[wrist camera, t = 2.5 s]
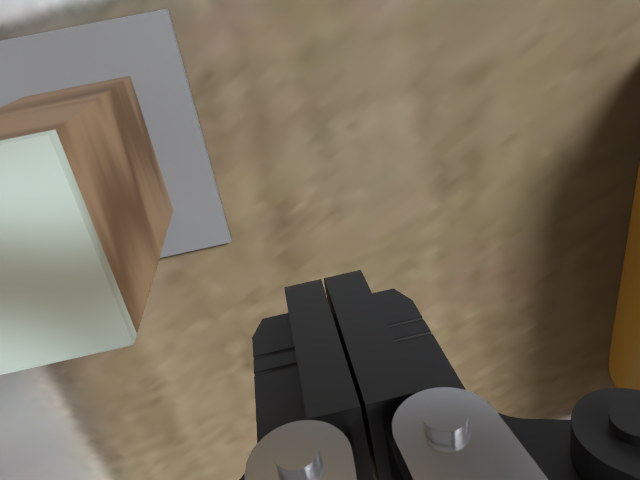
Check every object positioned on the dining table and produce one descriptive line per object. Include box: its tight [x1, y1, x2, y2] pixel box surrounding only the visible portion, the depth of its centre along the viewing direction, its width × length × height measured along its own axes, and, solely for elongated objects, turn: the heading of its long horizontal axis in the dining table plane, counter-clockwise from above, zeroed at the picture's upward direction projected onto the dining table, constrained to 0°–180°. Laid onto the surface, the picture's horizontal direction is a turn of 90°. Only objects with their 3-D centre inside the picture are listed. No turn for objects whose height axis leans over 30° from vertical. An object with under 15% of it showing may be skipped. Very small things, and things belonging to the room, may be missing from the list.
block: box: [0, 76, 173, 375], centre depth 21 cm, size 7×5×12 cm
